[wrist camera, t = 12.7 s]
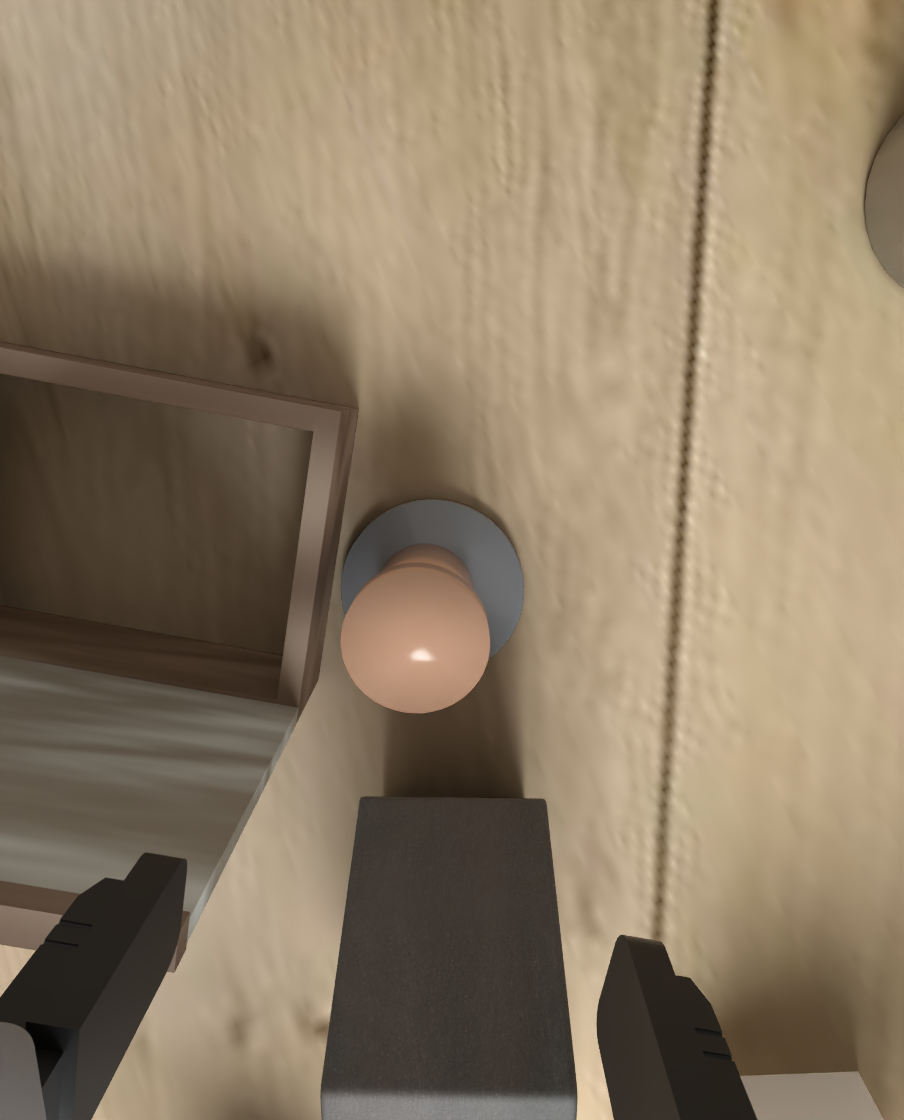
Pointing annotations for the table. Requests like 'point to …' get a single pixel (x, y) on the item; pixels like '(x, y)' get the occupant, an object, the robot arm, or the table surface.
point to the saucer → (456, 532)
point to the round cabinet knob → (417, 632)
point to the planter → (450, 967)
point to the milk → (811, 1097)
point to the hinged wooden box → (152, 694)
